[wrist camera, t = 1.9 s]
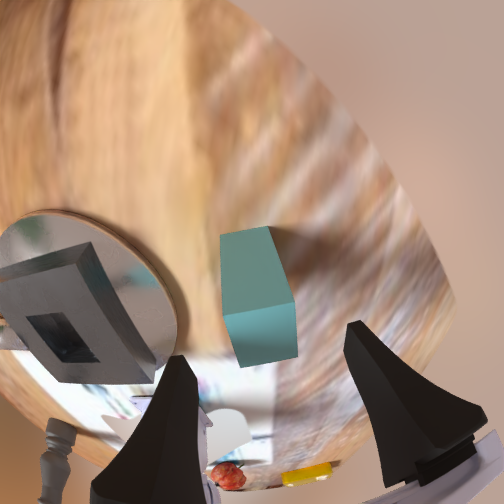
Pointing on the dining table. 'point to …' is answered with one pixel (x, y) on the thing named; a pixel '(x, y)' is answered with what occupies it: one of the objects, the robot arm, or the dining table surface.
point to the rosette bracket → (83, 301)
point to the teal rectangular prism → (256, 298)
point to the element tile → (307, 475)
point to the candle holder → (56, 460)
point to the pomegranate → (228, 476)
